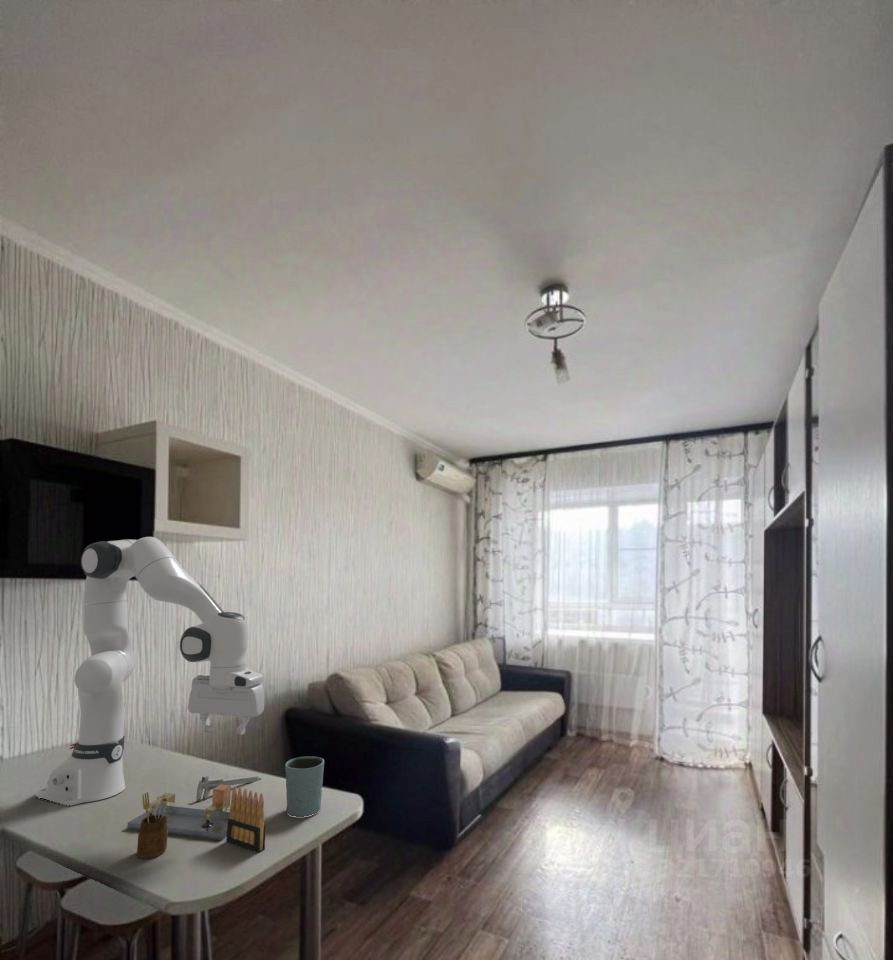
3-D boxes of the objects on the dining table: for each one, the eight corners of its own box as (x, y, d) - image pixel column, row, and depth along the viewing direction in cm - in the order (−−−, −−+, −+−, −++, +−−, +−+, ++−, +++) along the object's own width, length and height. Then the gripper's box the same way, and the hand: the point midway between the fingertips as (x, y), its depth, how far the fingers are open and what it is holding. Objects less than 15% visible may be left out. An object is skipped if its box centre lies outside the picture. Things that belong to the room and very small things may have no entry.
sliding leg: (201, 823, 134) (202, 795, 135) (219, 811, 140) (220, 784, 141) (212, 824, 133) (213, 796, 134) (229, 812, 140) (230, 785, 141)
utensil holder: (151, 861, 120) (155, 802, 122) (129, 856, 122) (133, 798, 124) (172, 848, 126) (176, 791, 127) (151, 844, 128) (155, 788, 130)
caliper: (198, 803, 150) (199, 778, 151) (196, 802, 151) (197, 778, 152) (261, 780, 167) (262, 757, 168) (259, 779, 168) (260, 757, 169)
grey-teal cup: (299, 823, 138) (301, 771, 140) (274, 812, 144) (277, 763, 146) (331, 809, 146) (332, 760, 148) (306, 799, 152) (307, 753, 154)
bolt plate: (127, 829, 135) (128, 807, 136) (156, 811, 145) (158, 791, 145) (221, 840, 129) (222, 817, 130) (246, 821, 139) (247, 800, 140)
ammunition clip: (265, 849, 125) (267, 792, 127) (258, 853, 124) (261, 795, 125) (232, 838, 130) (235, 783, 132) (225, 842, 129) (228, 786, 131)
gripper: (184, 676, 143) (180, 733, 141) (255, 680, 139) (252, 739, 137) (200, 672, 149) (196, 726, 147) (269, 675, 145) (266, 732, 143)
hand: (224, 732), depth 142 cm, fingers open, 8 cm apart
